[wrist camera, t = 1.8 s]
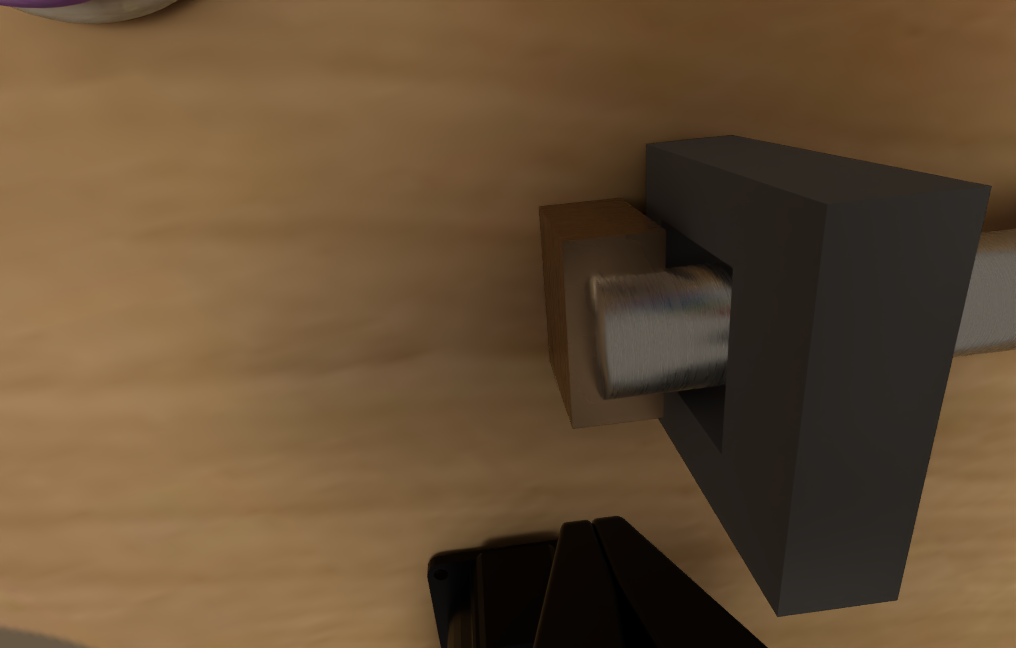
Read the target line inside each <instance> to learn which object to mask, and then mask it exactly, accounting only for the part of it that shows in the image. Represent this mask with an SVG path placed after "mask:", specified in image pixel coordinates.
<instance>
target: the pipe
mask: <svg viewBox="0 0 1016 648" xmlns="http://www.w3.org/2000/svg"><path fill="white" fill-rule="evenodd" d="M539 215H540V229H541V243H542V257H543V271H544V285H545V300H546V314H547V328H548V342H549V356H550V363H551V366H552V369H553V372H554V375H555V378H556V381H557V384H558V387H559V390H560V393H561V396H562V399H563V402H564V405H565V408H566V411H567V414H568V416H569V419H570V422H571V425H572V428H573V429H575V428H583V427H591V426H599V425H607V424H615V423H624V422H632V421H640V420H648V419H656V418H663V411H664V393H665V392H674V391H682V390H690V389H698V388H706V387H714V386H723V385H726V374H727V358H728V342H729V325H730V309H731V292H732V276H733V268H732V267H731V266H729V265H728V264H726V263H725V262H717V263H708V264H699V265H691V266H682V267H673V268H666V230H665V229H664V228H662V227H661V226H660V225H658V224H657V223H655V222H654V221H652V220H651V219H650V218H648V217H647V216H645V215H644V214H643V213H641V212H640V211H638V210H637V209H636V208H634V207H633V206H631V205H630V204H629V203H627V202H626V201H624V200H623V199H621V198H615V199H606V200H597V201H588V202H578V203H569V204H560V205H551V206H541V207H539ZM1008 350H1016V229H1007V230H998V231H989V232H981V235H980V240H979V244H978V248H977V253H976V257H975V262H974V266H973V270H972V275H971V279H970V284H969V288H968V292H967V297H966V301H965V306H964V310H963V314H962V319H961V323H960V327H959V332H958V336H957V341H956V345H955V349H954V354H953V357H959V356H967V355H975V354H983V353H992V352H1000V351H1008Z"/></svg>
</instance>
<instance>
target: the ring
mask: <svg viewBox="0 0 1016 648" xmlns="http://www.w3.org/2000/svg"><path fill="white" fill-rule="evenodd" d="M991 187H992V186H988V185H983V184H978V183H973V182H968V181H963V180H958V179H953V178H947V177H942V176H937V175H932V174H927V173H922V172H917V171H912V170H907V169H902V168H897V167H892V166H886V165H881V164H876V163H871V162H866V161H861V160H856V159H851V158H846V157H841V156H836V155H831V154H825V153H820V152H815V151H810V150H805V149H800V148H795V147H790V146H785V145H780V144H775V143H769V142H764V141H759V140H754V139H749V138H744V137H739V136H734V135H728V136H718V137H709V138H699V139H690V140H680V141H671V142H661V143H652V144H646V216H647V217H648V218H650V219H651V220H652V221H654V222H655V223H657V224H658V225H660V226H661V227H662V228H664V229H665V230H666V268H673V267H682V266H691V265H699V264H708V263H717V262H725V263H726V264H728V265H729V266H731V267H732V268H733V276H732V292H731V309H730V325H729V342H728V358H727V374H726V385H723V386H714V387H706V388H698V389H690V390H682V391H674V392H665V393H664V411H663V418H658V419H659V421H660V422H661V424H662V426H663V427H664V429H665V431H666V432H667V434H668V436H669V437H670V439H671V441H672V442H673V444H674V446H675V447H676V449H677V451H678V452H679V454H680V456H681V457H682V459H683V461H684V462H685V464H686V466H687V467H688V469H689V471H690V472H691V474H692V476H693V477H694V479H695V481H696V482H697V484H698V486H699V487H700V489H701V491H702V492H703V494H704V495H705V497H706V499H707V500H708V502H709V504H710V505H711V507H712V509H713V510H714V512H715V514H716V515H717V517H718V519H719V520H720V522H721V524H722V525H723V527H724V529H725V530H726V532H727V534H728V535H729V537H730V539H731V540H732V542H733V544H734V545H735V547H736V549H737V550H738V552H739V554H740V555H741V557H742V559H743V560H744V562H745V564H746V565H747V567H748V569H749V570H750V572H751V574H752V575H753V577H754V579H755V580H756V582H757V584H758V585H759V587H760V589H761V590H762V592H763V594H764V595H765V597H766V599H767V600H768V602H769V604H770V605H771V607H772V609H773V610H774V612H775V614H776V615H777V617H781V616H788V615H795V614H803V613H810V612H817V611H824V610H831V609H838V608H845V607H853V606H860V605H867V604H874V603H881V602H888V601H896V600H898V595H899V591H900V587H901V582H902V578H903V573H904V569H905V565H906V560H907V556H908V551H909V547H910V543H911V538H912V534H913V530H914V525H915V521H916V516H917V512H918V508H919V503H920V499H921V494H922V490H923V486H924V481H925V477H926V472H927V468H928V464H929V459H930V455H931V450H932V446H933V442H934V437H935V433H936V429H937V424H938V420H939V415H940V411H941V407H942V402H943V398H944V393H945V389H946V385H947V380H948V376H949V371H950V367H951V363H952V358H953V354H954V349H955V345H956V341H957V336H958V332H959V327H960V323H961V319H962V314H963V310H964V306H965V301H966V297H967V292H968V288H969V284H970V279H971V275H972V270H973V266H974V262H975V257H976V253H977V248H978V244H979V240H980V235H981V231H982V226H983V222H984V218H985V213H986V209H987V204H988V200H989V196H990V191H991Z"/></svg>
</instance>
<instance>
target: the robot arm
mask: <svg viewBox="0 0 1016 648" xmlns="http://www.w3.org/2000/svg"><path fill="white" fill-rule="evenodd" d="M440 569H443V570H446V571H443V572H440V571H437V570H440ZM427 577H428V583H429V588H430V593H431V598H432V603H433V609H434V614H435V619H436V624H437V629H438V635H439V640H440V645H441V648H768V647H766V646H765V645H764V644H763V643H762V642H761V641H760V640H759V639H758V638H756V637H755V636H754V635H753V634H752V633H751V632H750V631H749V630H747V629H746V628H745V627H744V626H743V625H742V624H741V623H740V622H739V621H737V620H736V619H735V618H734V617H733V616H732V615H731V614H730V613H728V612H727V611H726V610H725V609H724V608H723V607H722V606H721V605H720V604H718V603H717V602H716V601H715V600H714V599H713V598H712V597H711V596H710V595H708V594H707V593H706V592H705V591H704V590H703V589H702V588H701V587H699V586H698V585H697V584H696V583H695V582H694V581H693V580H692V579H691V578H689V577H688V576H687V575H686V574H685V573H684V572H683V571H682V570H680V569H679V568H678V567H677V566H676V565H675V564H674V563H673V562H672V561H670V560H669V559H668V558H667V557H666V556H665V555H664V554H663V553H662V552H660V551H659V550H658V549H657V548H656V547H655V546H654V545H653V544H651V543H650V542H649V541H648V540H647V539H646V538H645V537H644V536H643V535H641V534H640V533H639V532H638V531H637V530H636V529H635V528H634V527H632V526H631V525H630V524H629V523H628V522H627V521H626V520H625V519H623V518H622V517H620V516H612V517H604V518H597V519H594V520H593V522H592V523H591V522H590V521H588V520H581V521H573V522H566V523H564V524H563V525H562V526H561V530H560V534H559V538H558V540H556V541H549V542H541V543H534V544H526V545H519V546H511V547H503V548H496V549H488V550H481V551H473V552H466V553H458V554H450V555H443V556H438V557H434V558H433V559H432V560H430V562H429V563H428V574H427Z"/></svg>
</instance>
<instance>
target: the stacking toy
mask: <svg viewBox="0 0 1016 648" xmlns="http://www.w3.org/2000/svg"><path fill="white" fill-rule="evenodd" d="M176 1H177V0H0V5H3V6H10V7H13V8H15V9H18V10H21V11H24V12H27V13H29V14H33V15H36V16H40V17H44V18H48V19H53V20H59V21H65V22H71V23H84V24H96V23H111V22H121V21H125V20H130V19H135V18H138V17H142V16H145V15H148V14H151V13H153V12H156V11H158V10H161V9H163V8H165V7H167V6H169V5H170V4H172V3H174V2H176Z"/></svg>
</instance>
